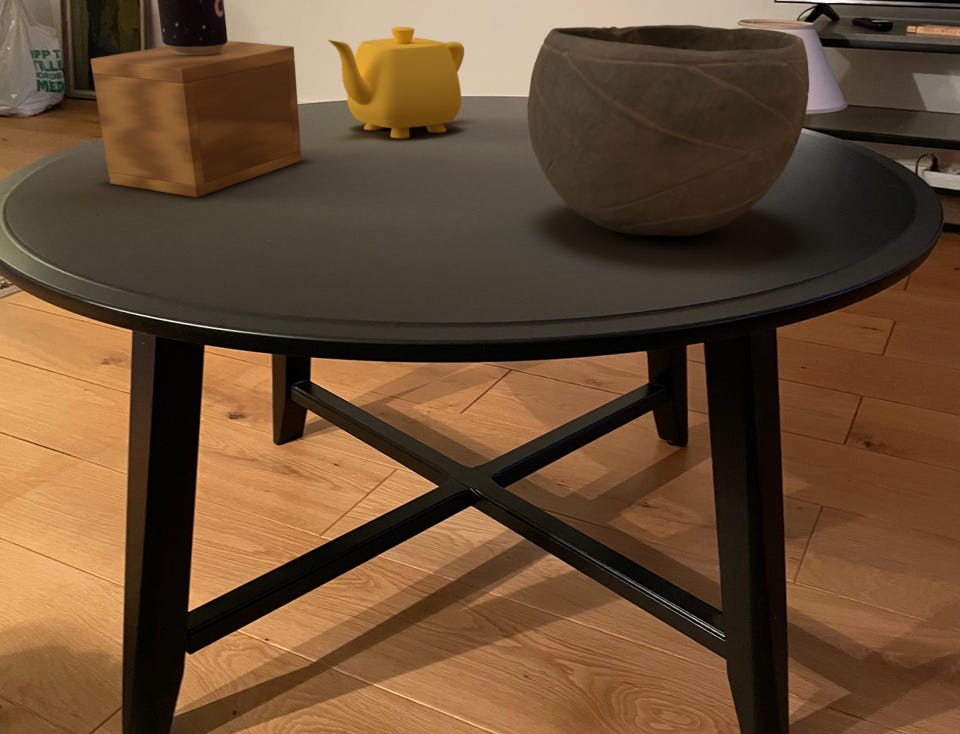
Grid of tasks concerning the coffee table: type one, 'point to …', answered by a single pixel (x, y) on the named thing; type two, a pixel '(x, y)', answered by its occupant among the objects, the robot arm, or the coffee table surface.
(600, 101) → the bowl
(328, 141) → the coffee table surface
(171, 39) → the beverage can
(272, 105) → the small wooden crate
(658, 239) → the coffee table surface
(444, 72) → the teapot
